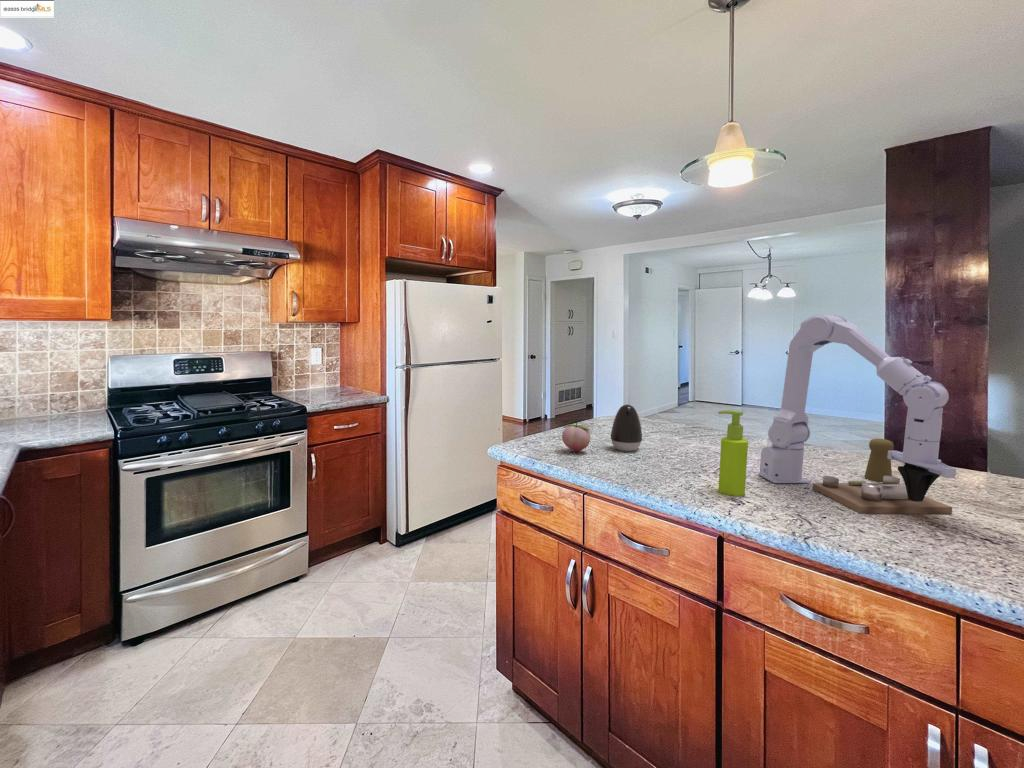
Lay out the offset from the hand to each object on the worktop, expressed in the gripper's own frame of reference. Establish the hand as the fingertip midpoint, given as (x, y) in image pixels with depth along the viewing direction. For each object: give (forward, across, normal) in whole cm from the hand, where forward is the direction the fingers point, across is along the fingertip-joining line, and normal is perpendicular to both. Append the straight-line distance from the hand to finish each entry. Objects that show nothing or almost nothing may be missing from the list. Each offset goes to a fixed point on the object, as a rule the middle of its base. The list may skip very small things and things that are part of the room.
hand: (915, 500), depth 101 cm
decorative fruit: (+3, +52, +66) cm, 84 cm away
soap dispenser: (+3, +14, +34) cm, 37 cm away
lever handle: (+1, +5, +2) cm, 5 cm away
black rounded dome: (+3, +55, +49) cm, 74 cm away
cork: (+3, +24, -11) cm, 26 cm away
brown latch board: (+3, +8, +2) cm, 8 cm away
